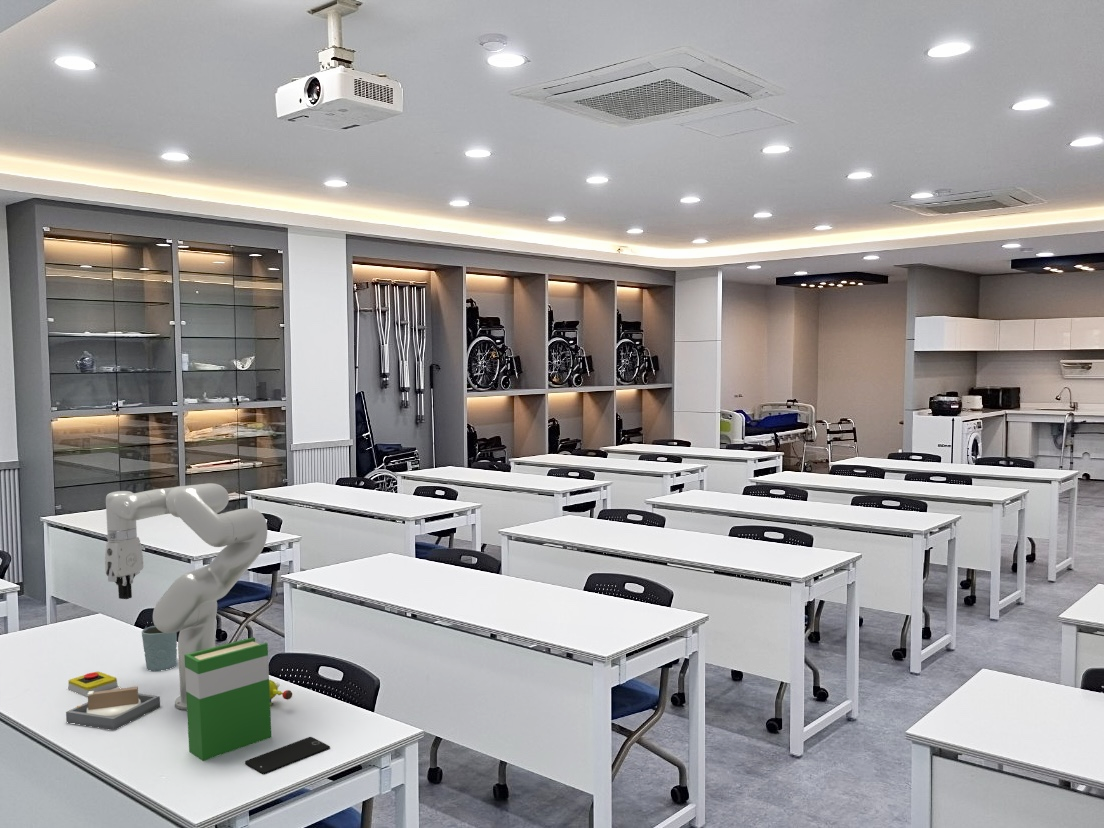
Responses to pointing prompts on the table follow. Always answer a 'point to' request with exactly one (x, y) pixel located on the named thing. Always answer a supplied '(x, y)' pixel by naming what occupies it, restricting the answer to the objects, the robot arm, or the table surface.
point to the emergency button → (92, 683)
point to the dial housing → (112, 723)
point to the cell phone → (286, 755)
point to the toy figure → (274, 691)
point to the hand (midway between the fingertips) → (125, 598)
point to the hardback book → (227, 697)
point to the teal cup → (159, 649)
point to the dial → (112, 701)
